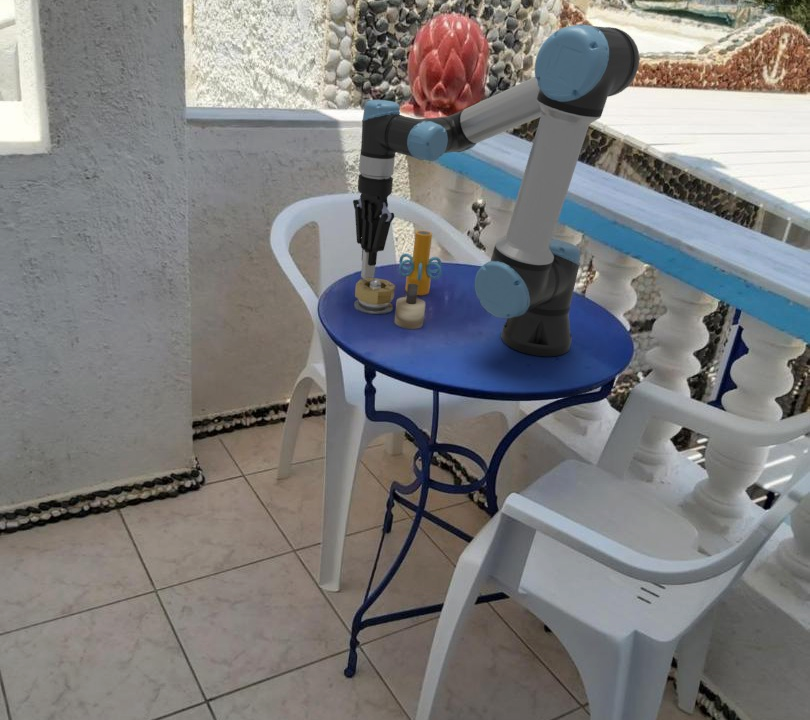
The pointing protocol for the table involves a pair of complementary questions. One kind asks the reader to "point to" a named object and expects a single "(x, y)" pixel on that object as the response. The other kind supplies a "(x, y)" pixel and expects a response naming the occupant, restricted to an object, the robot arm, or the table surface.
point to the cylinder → (420, 263)
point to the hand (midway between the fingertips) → (367, 276)
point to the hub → (373, 308)
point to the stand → (410, 309)
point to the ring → (374, 291)
